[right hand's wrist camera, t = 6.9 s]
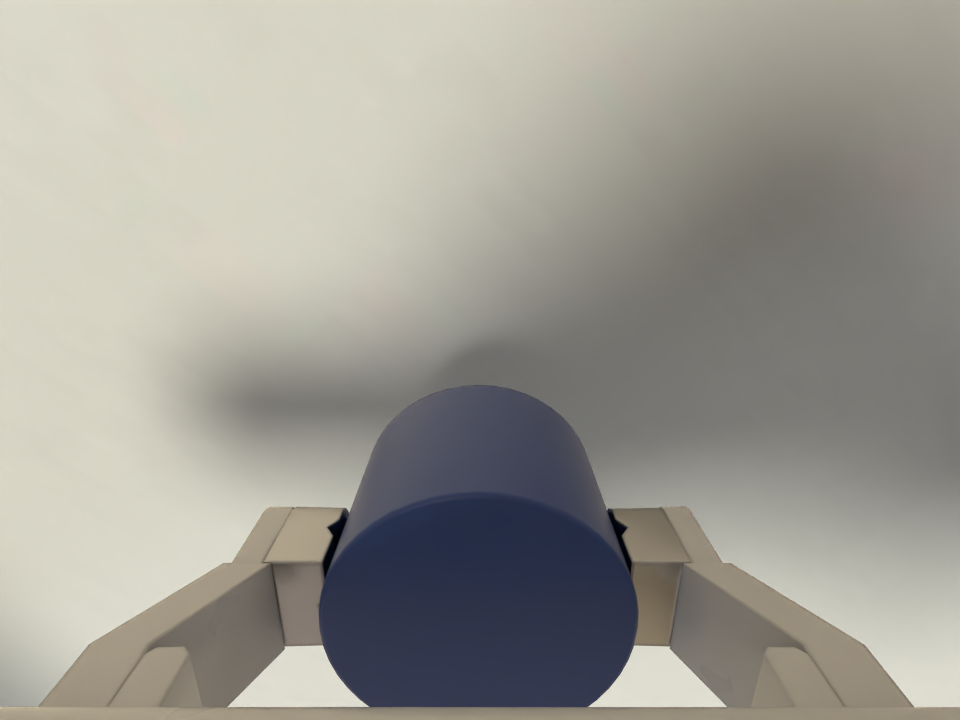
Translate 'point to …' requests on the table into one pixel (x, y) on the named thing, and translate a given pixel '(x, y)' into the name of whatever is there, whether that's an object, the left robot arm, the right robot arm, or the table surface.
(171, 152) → the table surface
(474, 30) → the table surface
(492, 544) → the canister
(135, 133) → the table surface
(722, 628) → the right robot arm
